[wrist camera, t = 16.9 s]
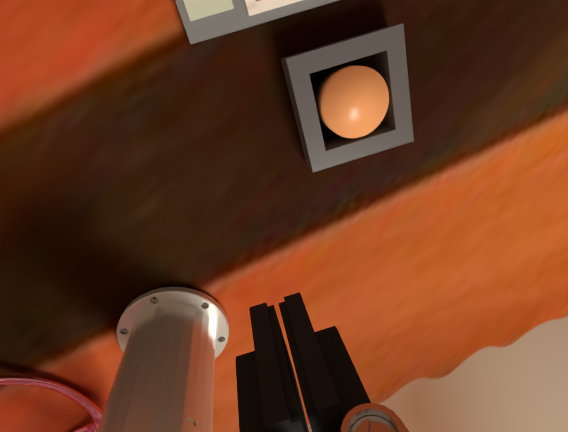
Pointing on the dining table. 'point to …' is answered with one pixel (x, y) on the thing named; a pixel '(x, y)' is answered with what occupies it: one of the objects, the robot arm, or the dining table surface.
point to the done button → (352, 100)
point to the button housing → (297, 67)
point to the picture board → (235, 14)
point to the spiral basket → (85, 431)
